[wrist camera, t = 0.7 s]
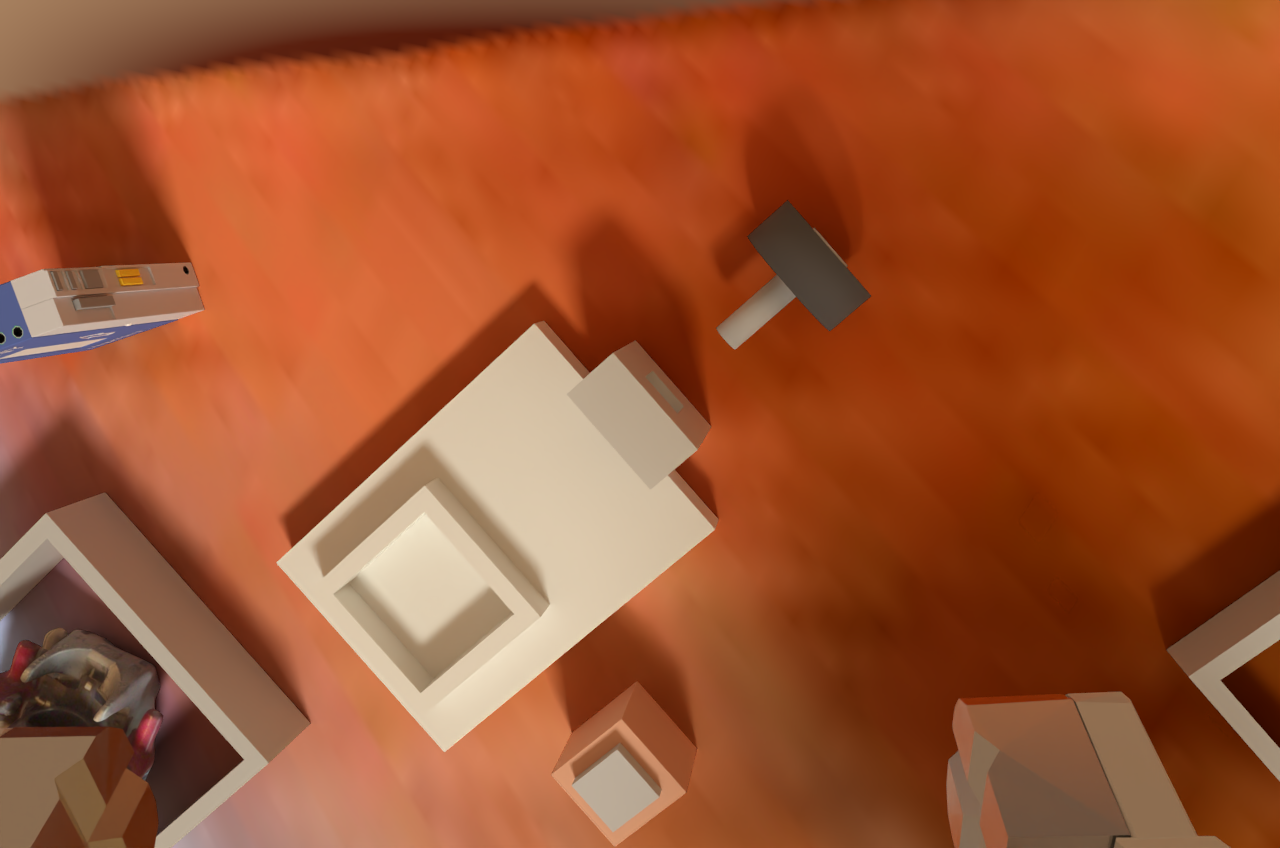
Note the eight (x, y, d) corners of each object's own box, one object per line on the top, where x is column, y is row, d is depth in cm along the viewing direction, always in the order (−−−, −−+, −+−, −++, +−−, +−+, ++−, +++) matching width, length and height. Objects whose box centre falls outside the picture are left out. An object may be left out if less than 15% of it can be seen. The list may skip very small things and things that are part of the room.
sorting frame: (310, 723, 64) (268, 763, 59) (108, 898, 69) (53, 949, 64) (105, 492, 64) (45, 512, 59) (-85, 683, 68) (-155, 717, 63)
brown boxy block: (697, 747, 61) (684, 800, 55) (630, 798, 62) (611, 855, 56) (637, 680, 61) (618, 725, 55) (572, 732, 62) (547, 782, 56)
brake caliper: (203, 664, 62) (47, 859, 54) (214, 738, 70) (81, 916, 63) (32, 572, 63) (-145, 751, 55) (63, 656, 71) (-87, 821, 64)
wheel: (870, 291, 55) (875, 297, 49) (769, 377, 56) (763, 393, 50) (791, 200, 55) (787, 196, 49) (692, 289, 56) (677, 295, 50)
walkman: (91, 350, 63) (-77, 376, 51) (73, 303, 62) (-100, 318, 51) (209, 309, 61) (64, 326, 49) (192, 261, 61) (42, 267, 49)
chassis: (761, 484, 57) (754, 514, 51) (456, 736, 63) (415, 791, 57) (585, 282, 57) (556, 287, 51) (293, 552, 63) (234, 587, 56)
